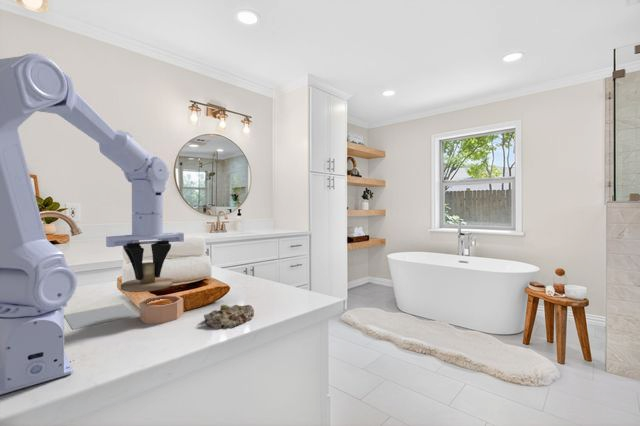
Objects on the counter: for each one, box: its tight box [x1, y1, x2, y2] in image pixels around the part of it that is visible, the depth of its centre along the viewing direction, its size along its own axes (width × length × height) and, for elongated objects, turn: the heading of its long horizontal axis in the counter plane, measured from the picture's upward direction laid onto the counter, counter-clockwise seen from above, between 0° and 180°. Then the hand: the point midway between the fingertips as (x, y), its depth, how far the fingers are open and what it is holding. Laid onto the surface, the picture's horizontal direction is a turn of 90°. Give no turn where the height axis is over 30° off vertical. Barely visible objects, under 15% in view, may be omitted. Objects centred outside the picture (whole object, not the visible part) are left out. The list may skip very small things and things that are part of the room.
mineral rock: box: [203, 304, 255, 329], centre depth 67 cm, size 11×4×8 cm
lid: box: [120, 261, 173, 293], centre depth 67 cm, size 10×10×5 cm
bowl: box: [139, 295, 184, 324], centre depth 67 cm, size 8×8×4 cm
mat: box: [64, 303, 138, 330], centre depth 68 cm, size 11×11×1 cm
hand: (147, 278), depth 67 cm, fingers closed on lid, 3 cm apart
